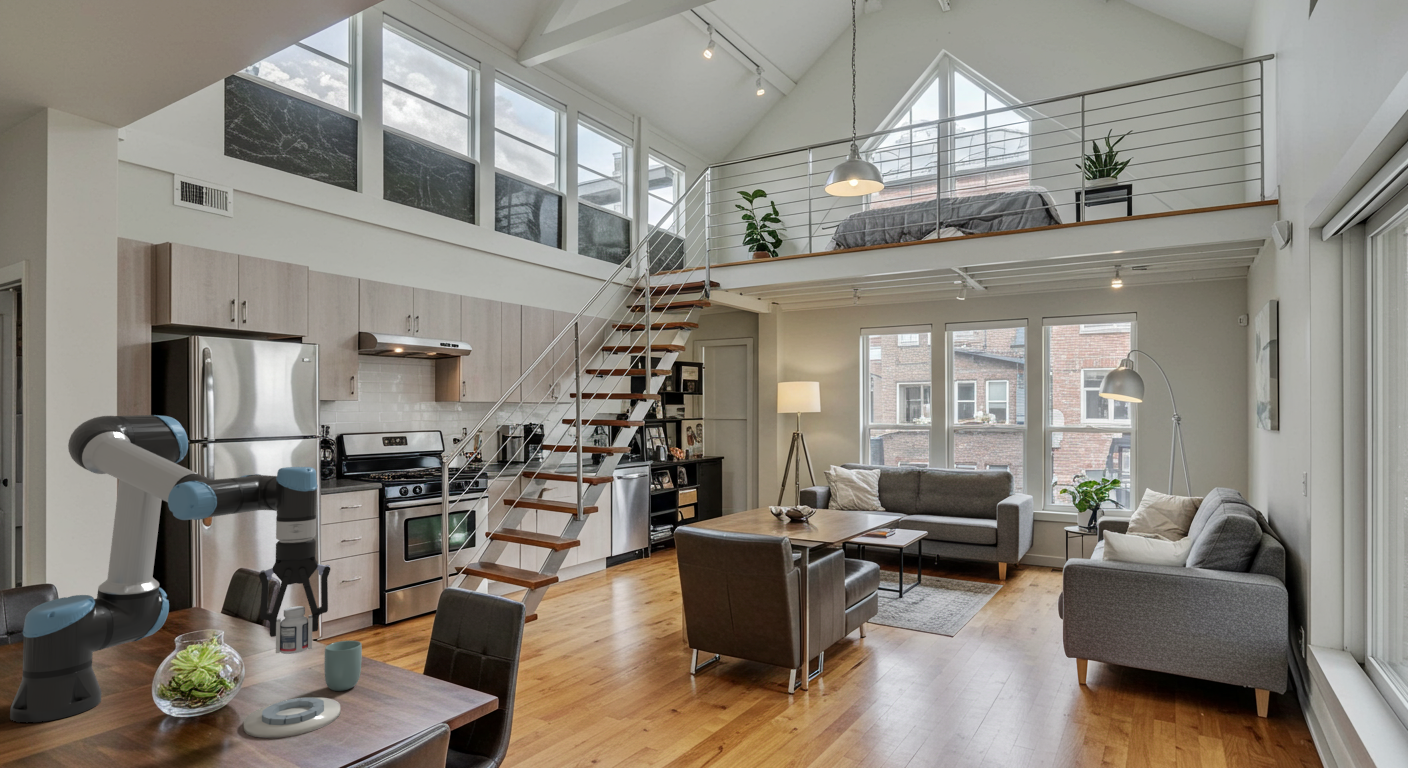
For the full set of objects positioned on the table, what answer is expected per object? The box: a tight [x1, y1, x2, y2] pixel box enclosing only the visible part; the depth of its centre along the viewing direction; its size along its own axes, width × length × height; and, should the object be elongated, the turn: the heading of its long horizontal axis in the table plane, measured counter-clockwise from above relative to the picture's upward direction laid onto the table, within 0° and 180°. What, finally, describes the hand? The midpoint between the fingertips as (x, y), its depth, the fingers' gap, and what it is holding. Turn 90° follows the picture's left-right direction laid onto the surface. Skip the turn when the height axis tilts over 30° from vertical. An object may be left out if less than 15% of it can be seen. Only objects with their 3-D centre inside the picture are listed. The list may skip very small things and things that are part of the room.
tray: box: [243, 696, 341, 739], centre depth 159 cm, size 18×18×2 cm
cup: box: [323, 640, 363, 692], centre depth 177 cm, size 8×8×10 cm
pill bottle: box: [280, 605, 308, 655], centre depth 159 cm, size 5×5×9 cm
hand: (294, 648), depth 159 cm, fingers closed on pill bottle, 5 cm apart
